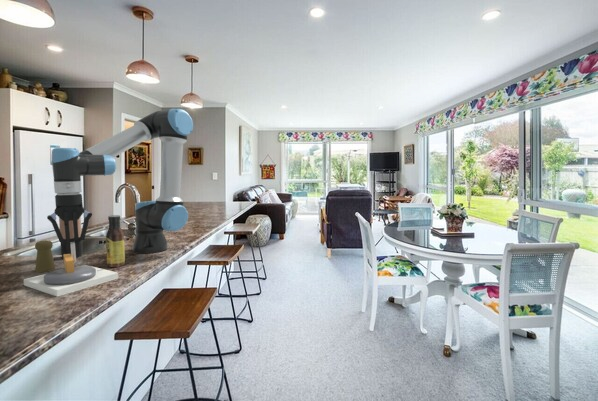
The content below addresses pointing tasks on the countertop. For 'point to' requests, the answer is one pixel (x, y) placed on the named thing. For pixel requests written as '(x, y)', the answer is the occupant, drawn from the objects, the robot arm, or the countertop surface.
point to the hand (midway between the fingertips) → (73, 261)
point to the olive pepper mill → (44, 256)
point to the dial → (69, 273)
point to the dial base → (64, 289)
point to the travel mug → (62, 230)
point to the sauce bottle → (115, 243)
